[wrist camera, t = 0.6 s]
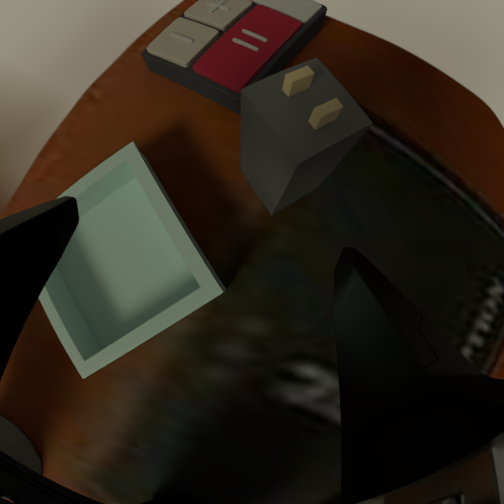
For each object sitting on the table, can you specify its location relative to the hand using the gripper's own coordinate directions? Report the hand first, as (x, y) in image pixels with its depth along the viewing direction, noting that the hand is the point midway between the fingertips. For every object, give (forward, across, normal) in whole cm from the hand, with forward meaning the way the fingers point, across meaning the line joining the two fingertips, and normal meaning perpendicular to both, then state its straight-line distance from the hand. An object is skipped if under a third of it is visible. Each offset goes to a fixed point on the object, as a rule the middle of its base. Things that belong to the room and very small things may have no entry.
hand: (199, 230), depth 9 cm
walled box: (+9, +8, +10) cm, 16 cm away
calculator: (+24, +3, -7) cm, 25 cm away
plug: (+15, -3, +4) cm, 15 cm away
